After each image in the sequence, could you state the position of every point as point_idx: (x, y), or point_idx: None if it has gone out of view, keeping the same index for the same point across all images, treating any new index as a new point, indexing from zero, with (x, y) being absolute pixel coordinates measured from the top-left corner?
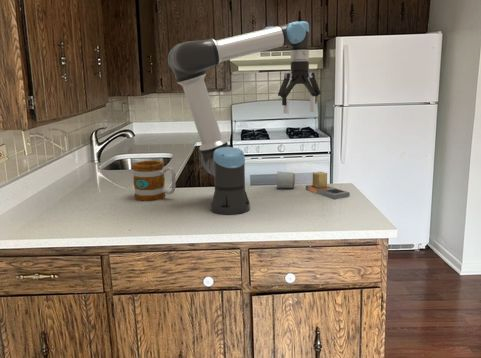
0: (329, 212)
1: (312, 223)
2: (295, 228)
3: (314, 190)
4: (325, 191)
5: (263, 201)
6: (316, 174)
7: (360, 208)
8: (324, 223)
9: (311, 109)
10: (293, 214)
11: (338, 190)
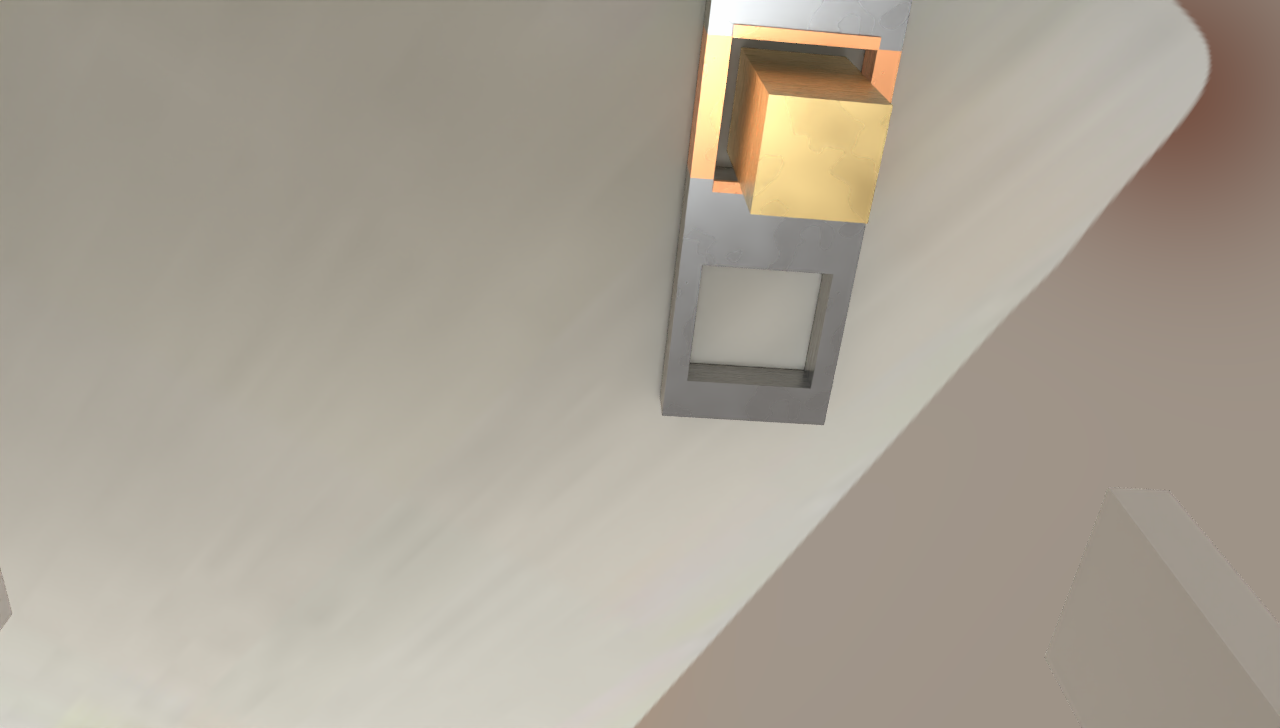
0: (389, 595)
1: (158, 682)
2: (18, 694)
3: (693, 135)
4: (691, 289)
5: (71, 93)
6: (756, 167)
7: (624, 633)
8: (224, 712)
9: (1112, 615)
10: (139, 510)
11: (824, 311)
